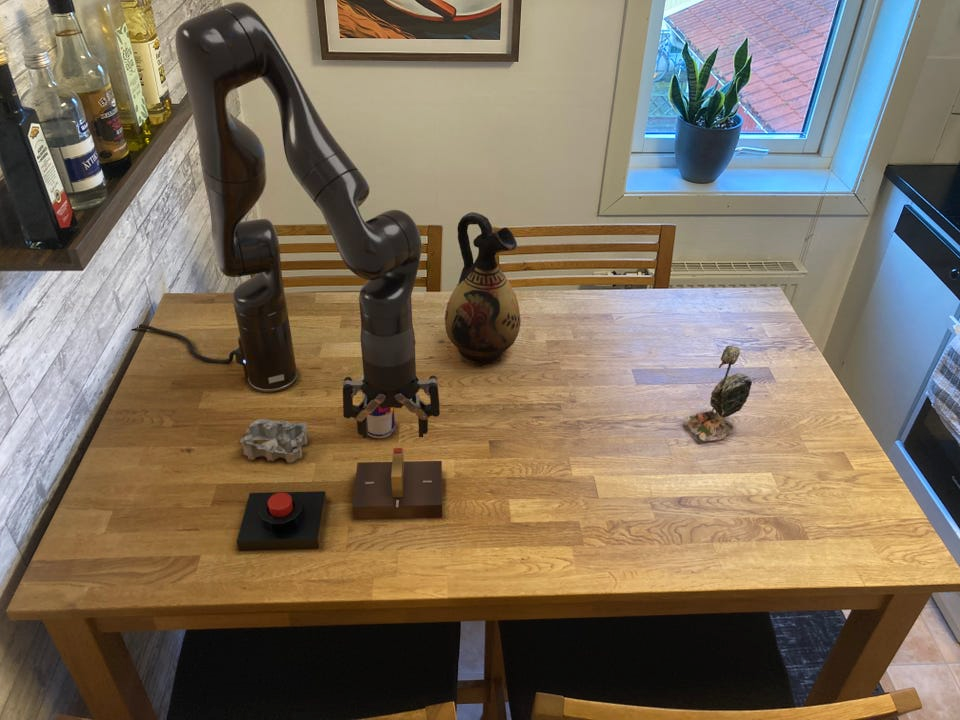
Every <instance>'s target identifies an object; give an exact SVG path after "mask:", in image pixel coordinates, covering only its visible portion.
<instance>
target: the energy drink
mask: <svg viewBox="0 0 960 720" xmlns="http://www.w3.org/2000/svg"><path fill="white" fill-rule="evenodd" d="M363 379H364V374H362V376H361V380H360V381H362V380H363ZM365 396H366V395H365V394H364V393H363V392H362V391H361V399H362V401H363V400H364V398H365ZM395 418H396V417H395V408H394V407H390V408H381V407H379V406H378V407H377V408H376V409H375V410H374V411H373V412H372V413H371V414H369V415H368V416H367V423H368V436H369V437H371V438H372V439H373V438H374V439H386V438H389V437H390V436H391V435H392V434H393V433H395V430H396V421H395V420H396V419H395Z"/></svg>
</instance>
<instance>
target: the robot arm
mask: <svg viewBox="0 0 960 720" xmlns="http://www.w3.org/2000/svg"><path fill="white" fill-rule="evenodd" d="M174 41H175V52H176V57H177V60H178V65H179V68H180V71H181V75H182V80H183V82H184V87H185V89H186V93H187V96H188V100H189V105H190V108H191V111H192V116H193V120H194V126H195V131H196V137H197V143H198V150H199V160H200V167H201V172H202V177H203V182H204V186H205V191H206V196H207V200H208V206H209V211H210V222H211V223H210V225H211V237H212V238H211V239H212V249H213V254H214V259H215V262H216V265H217V267H218V269H219V270H220V272H221V273H222V274H223V275H224V276H225V277H227V278H228V277H229V278H240V277H246V276H252V275H253V276H252V277H250V278H248V279H247V280H245V281H243V282H241V283H240V284H239V285H237V286H236V288H235V289H234V290H233V292H232V304H233V307H234V312H235V318H236V319H235V320H236V323H237V327H238V332H239V333H238V334H239V336H238V338H237V342H238V346H239V347H238V348H236V349H234V350H232V351H230V352H229V355H228V358H227V359H215V358H210V357H207V356H205V355H201V354H199V353H198V352H196V351H195V349H194V346H193V344H192V341H190V339H189V338H187V337H185V336H184V335H182V334H179V333H176V332H174V331H169V330H164V329H161V328H157V327H154V326H151V325H148V324H145V323H143V324H142V323H139V324H140V325H139V328H138V327H137V328H136V329H135V330H137V329H146V330H148V331H152V332H154V333H158V334H161V335H166V336H170V337H174V338H177V339H179V340H181V341H183V342H184V343H186V345H187V347H188V349H189V352H190V354H192V356H194V357H195V358H197V359H199V360H201V361H204V362H207V363H211V364H229V363H231V362H232V361H233V359H234V357H235V362H236V364H238V365H240V366H242V367H243V371H244V376H245V379H247V380H248V385H249V386H250V387H251V388H252V389H254V390H255V391H257V392H262V393H275V392H276V393H277V392H280V391H284V390H286V389H288V388H290V387H292V386H293V385H294V384H295V383H296V381H298V380H297V379H298V376H299V374H298V369H297V364H296V357H295V351H294V345H293V344H294V343H293V338H292V337H293V336H292V331H291V325H290V319H289V313H288V312H289V311H288V306H287V300H286V293H285V288H284V287H285V286H284V280H283V272H282V262H281V261H282V260H281V249H280V242H279V237H278V233H277V230H276V227H275V225H274V224H273V222H272V221H271V220H270V219H267V218H257V219H252V220H244V221H242V220H243V219H244V218H245V217H246V216H247V215H248V214H249V212H250V210H252V209H253V208H254V207H255V205H256V204H257V203H258V201H259V199H260V198H261V196H262V195H263V193H264V191H265V189H266V184H267V165H266V153H265V148H264V145H263V143H262V140H260V138H259V136H258V135H257V134H256V133H255V132H254V131H253V129H251V128H250V127H248V126H247V125H246V124H245V123H244V122H243V121H242V120H240V119H238V118H237V117H235V116H234V115H233V114H232V113H231V112H230V111H229V110H228V106H227V98H228V95H229V94H230V93H231V92H232V91H234V90H236V89H239V88H241V87H242V86H245V85H247V84H249V83H251V82H254V81H256V80H258V79H261V80H262V81H263V82H264V84H265V85H266V86H267V88H269V90H270V92H271V93H272V95H273V97H274V99H275V102H276V104H277V107H278V112H279V117H280V126H281V134H282V143H283V149H284V155H285V158H286V162H287V164H288V165H287V166H288V167H289V169H290V171H291V173H292V175H293V177H294V178H295V179H296V181H297V182H298V184H299V185H300V186H301V187H302V189H303V190H304V191H305V192H306V194H307V195H308V196H309V198H310V199H311V200H312V201H313V203H314V204H315V205H316V207H317V208H318V209H319V211H320V212H321V214H322V215H323V218H324V221H325V223H326V225H327V227H328V230H329V232H330V234H331V236H332V238H333V242H334V243H335V246H336V248H337V251H338V253H339V256H340V258H341V259H342V261H343V263H344V265H345V266H346V267H347V268H348V270H349V271H350V272H351V273H353V274H354V275H356V276H357V277H359V278H361V279H363V280H366V281H365V283H364V284H363V286H362V287H361V288H360V290H359V296H358V303H359V304H358V305H359V315H360V337H359V339H360V350H361V361H362V372H363V374H364V379H363V380H362V379H361V380H362V381H361V380H353V378H352V377H350V376H346V377H344V379H343V385H342V412H343V414H342V415H343V417H344V419H352V418H353V419H355V421H356V428H357V434H358V435H359V436H362V439H368V438H369V437H368V436H369V435H368V423H367V416H368V415H369V414H371V413H372V412H373V411H374V410H375V409H376V408H377V407H378V406H379V407H381V408H390V407H394V409H402V408H403V407H405V408H406V409H407V410H408V411H409V412H410V413H411V414H413V413H414V414H415V416H417V418H418V419H417V421H418V422H417V423H418V424H417V425H418V426H417V427H418V438H424V435H427V434H428V433H429V422H428V421H429V418H430V417H435V418H436V417H439V416H440V414H441V410H440V395H439V385H438V384H439V383H438V377H437V376H436V375H430V376H429V377H428V379H419V377H418V376H417V369H416V368H417V367H416V366H417V365H416V363H417V362H416V338H415V329H414V325H413V306H412V294H413V291H414V287H415V283H416V279H417V277H418V276H417V275H418V271H419V267H420V262H421V256H422V238H421V234H420V230H419V228H418V225H417V223H416V221H415V220H414V219H413V218H412V217H411V215H409V214H408V213H407V212H405V211H402V210H400V209H389V210H386V211H384V212H381V213H379V214H378V215H376V216H374V217H371V218H370V219H368V220H364V219H363V217H362V215H361V211H360V209H359V208H360V207H361V206H362V205H363V203H365V201H366V200H367V198H368V197H369V195H370V184H369V182H368V181H367V179H366V178H365V176H364V175H363V174H362V172H361V171H360V170H359V169H358V167H357V166H356V165H355V163H354V162H353V160H352V159H351V158H350V157H349V156H348V155H347V153H346V152H345V150H344V149H343V148H342V147H341V145H340V144H339V143H338V142H337V140H336V139H335V137H334V136H333V134H332V133H331V131H330V130H329V129H328V127H327V125H326V124H325V123H324V121H323V119H322V118H321V116H320V114H319V113H318V110H317V109H316V108H315V106H314V104H313V102H312V101H311V99H310V97H309V95H308V93H307V91H306V90H305V88H304V86H303V84H302V82H301V80H300V79H299V77H298V74H297V73H296V71H295V70H294V68H293V67H292V65H291V64H290V61H289V59H288V58H287V57H286V55H285V53H284V52H283V49H282V48H281V46H280V44H279V43H278V41H277V39H276V37H275V36H274V34H273V33H272V31H271V29H270V28H269V27H268V25H267V24H266V22H265V21H264V20H263V18H262V17H261V16H260V14H259V13H258V12H257V11H256V10H255V9H253V8H252V7H251V6H250V5H248V4H247V3H246V2H245V3H244V2H241V1H234V2H230V3H227V4H224V5H222V6H219V7H217V8H214V9H210V10H209V11H206V12H204V13H201V14H199V15H197V16H194V17H191V18H189V19H187V20H185V21H184V22H182V23H181V24H179V26H178V27H177V29H176V32H175V36H174ZM363 374H362V375H363ZM420 390H423V393H424V394H425V395H426V396H429V400H430V401H429V402H430V403H428V404H427V403H426V402H425V401H424V400H423V399H421V397H420V394H419V393H418V392H419V391H420ZM359 391H361V393H362V392H363V393H364V394H365V395H366V396H365V398H364V400H363V399H362V400H361V402H360V403H359V404H358V405H355V404H354V400H353V399H354V397H356V396H357V394H358V392H359Z"/></svg>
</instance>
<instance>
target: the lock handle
mask: <svg viewBox="0 0 960 720" xmlns="http://www.w3.org/2000/svg"><path fill="white" fill-rule="evenodd" d="M404 457H405V456H404V448H403V447H394V448H392V459H391V460H392V461H391V462H392V472H391V482H392V497H403V482H404V461H405V458H404Z"/></svg>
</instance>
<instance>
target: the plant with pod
mask: <svg viewBox="0 0 960 720" xmlns="http://www.w3.org/2000/svg"><path fill="white" fill-rule="evenodd" d="M740 349H741V348H739V347H737V346H734V345H727V346H726V347H725V349H724V350H723V351H722V354H721V357H720V361H721V363H720V364H719V366H718V369H721V368H722V367H723V366H725V365H727V367H726V372H725V376H724V377H723V378H722V379H721V380H720V381H719V382H717V384H716V385H715V387H714V388H713V390H711V395H710V401H709V404H710V407H712V409H711V410H708V411H703V412H701V411H700V412H696V413H695V414H694V415H691V416H689V418H687V419H685V421H683V426H685V427H686V428H689V429H688V430H690V432H692V433H691V434H692V435H693V436H694V437H695V439H696V441H698V442H704V443H706V442H713V441H718V440H719V441H722V440H725V439H726V438H727V437H728V435H729V434H730V433H731V432H732V430H733V429H734V428H735V427H734V426H733V425H731V424H728V423H727V422H726V421H725V420H724V419H726V418H727V417H730V416H732V415H734V414H736V413H738V412H740V411H741V410H742V408H743V407H744V405H745V404H746V403H747V400H748V397H749V396H750V392H751V388H752V384H753V381H754V380H755V377H753V378H752V379H751V378H750V376H748V375H746V374H744V373H742V372H741V373H739V372H737V373H733V374H729V373H730V371H731V367H732V365H735V364H736V363H737V361H738V359H739V357H740V354H741V350H740ZM714 411H715V412H714Z"/></svg>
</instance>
